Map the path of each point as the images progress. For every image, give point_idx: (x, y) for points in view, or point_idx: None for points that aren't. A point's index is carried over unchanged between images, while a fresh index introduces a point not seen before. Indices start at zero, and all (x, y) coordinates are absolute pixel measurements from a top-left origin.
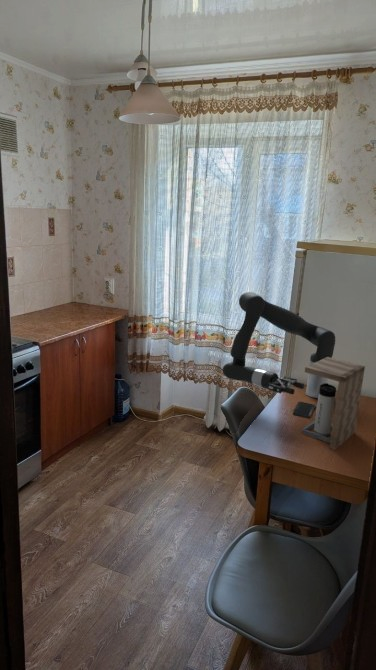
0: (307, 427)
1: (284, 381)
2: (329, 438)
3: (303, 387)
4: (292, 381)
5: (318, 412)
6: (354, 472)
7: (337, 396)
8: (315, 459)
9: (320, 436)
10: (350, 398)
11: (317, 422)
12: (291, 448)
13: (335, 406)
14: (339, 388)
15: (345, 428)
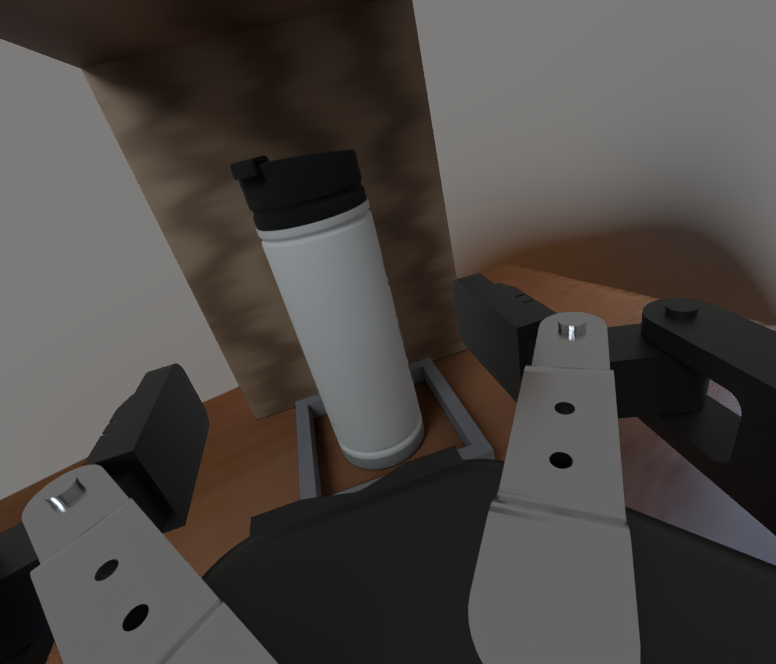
0: None
1: (287, 583)
2: (425, 362)
3: (192, 402)
4: (126, 500)
5: (397, 323)
6: (499, 275)
7: (426, 95)
8: (581, 311)
9: (446, 383)
10: None
11: (411, 377)
12: None
13: (436, 157)
14: (415, 42)
15: None
